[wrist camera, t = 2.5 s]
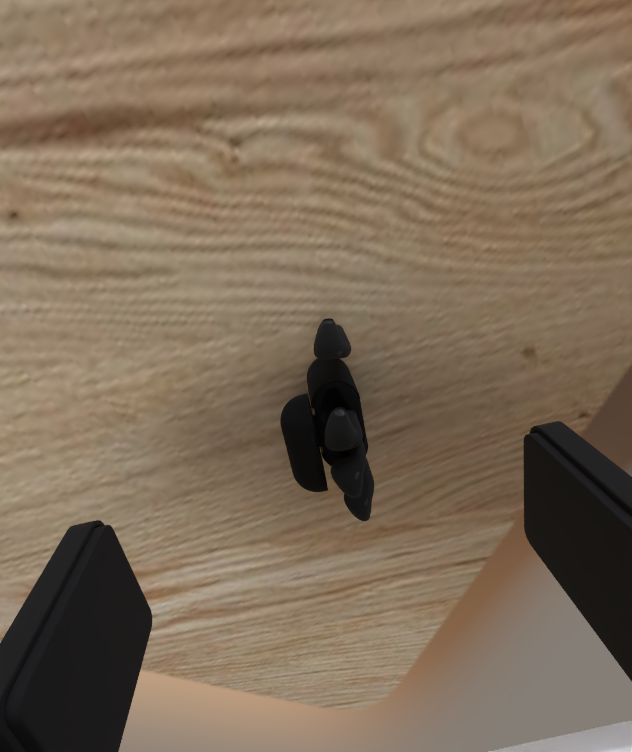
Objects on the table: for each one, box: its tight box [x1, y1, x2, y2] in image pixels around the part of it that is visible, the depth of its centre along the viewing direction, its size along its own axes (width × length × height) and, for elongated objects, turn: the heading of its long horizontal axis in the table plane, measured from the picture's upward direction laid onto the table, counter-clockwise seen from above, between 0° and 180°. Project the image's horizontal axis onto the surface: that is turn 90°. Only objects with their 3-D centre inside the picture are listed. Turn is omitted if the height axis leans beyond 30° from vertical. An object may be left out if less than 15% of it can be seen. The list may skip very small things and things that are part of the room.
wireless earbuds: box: [281, 319, 374, 521], centre depth 15 cm, size 7×2×5 cm, turn 11°
